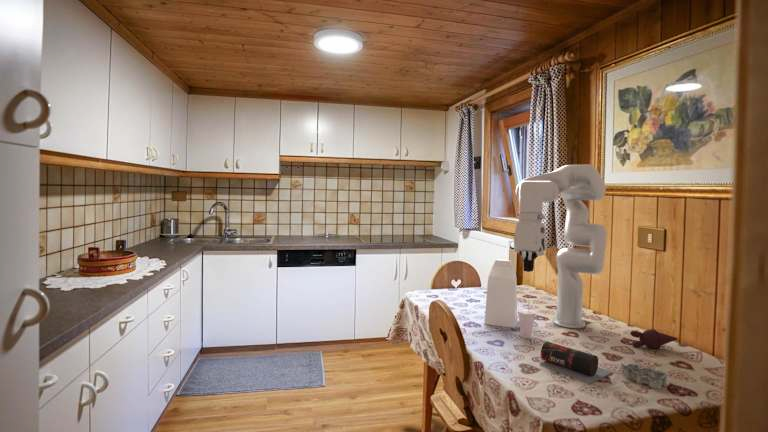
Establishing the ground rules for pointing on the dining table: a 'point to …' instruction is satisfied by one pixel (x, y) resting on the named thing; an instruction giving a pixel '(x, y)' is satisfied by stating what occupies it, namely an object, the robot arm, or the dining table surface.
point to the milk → (501, 295)
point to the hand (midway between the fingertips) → (528, 270)
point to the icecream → (651, 338)
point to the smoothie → (526, 321)
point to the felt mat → (578, 375)
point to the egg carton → (644, 375)
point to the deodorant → (570, 358)
